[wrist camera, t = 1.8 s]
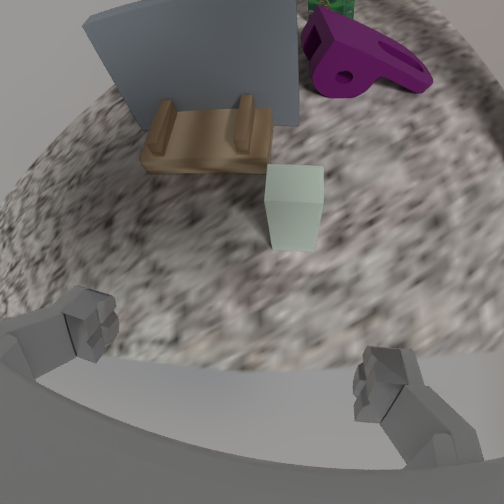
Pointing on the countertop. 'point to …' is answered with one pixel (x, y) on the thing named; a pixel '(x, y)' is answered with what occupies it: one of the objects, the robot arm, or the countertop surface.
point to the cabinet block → (294, 205)
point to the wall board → (201, 55)
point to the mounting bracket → (356, 57)
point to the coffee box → (333, 6)
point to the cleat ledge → (209, 140)
